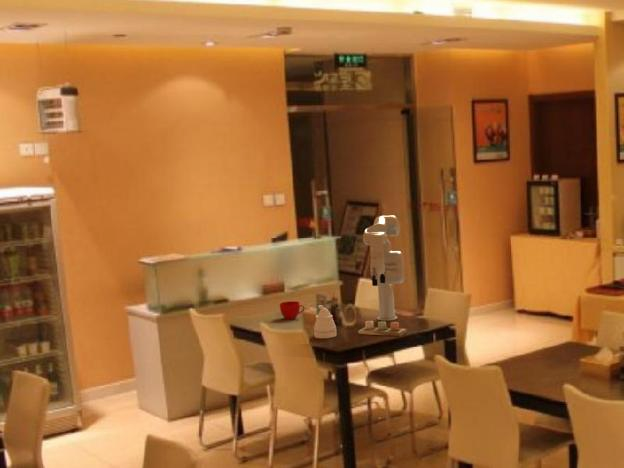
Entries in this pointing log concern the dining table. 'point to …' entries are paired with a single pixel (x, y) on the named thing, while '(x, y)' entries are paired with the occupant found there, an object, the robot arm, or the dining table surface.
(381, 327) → the button two
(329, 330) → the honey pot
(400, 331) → the wooden panel frame
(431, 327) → the dining table surface
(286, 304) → the ceramic cup
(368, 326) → the button one
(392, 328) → the button three
